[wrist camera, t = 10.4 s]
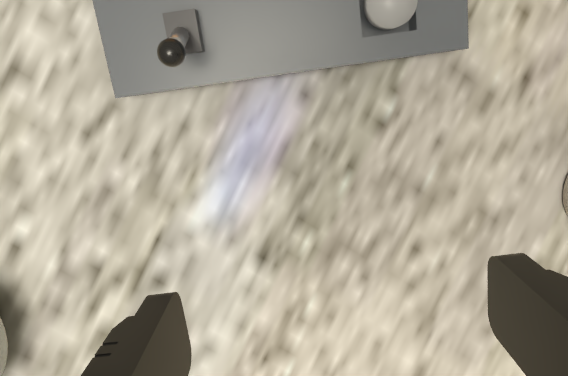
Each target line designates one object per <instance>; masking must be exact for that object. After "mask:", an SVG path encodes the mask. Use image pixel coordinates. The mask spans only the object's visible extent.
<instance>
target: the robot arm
mask: <svg viewBox="0 0 568 376" xmlns="http://www.w3.org/2000/svg"><path fill="white" fill-rule="evenodd" d="M563 205H564V208H565V211H566V214H567V215H568V175H567V178H566V181H565V184H564V189H563ZM488 317H489V322H490V325H491V328H492V331H493V333H494V335H495V336H496V338H497V339H498V340H499V342H500V343H501V344H502V345H503V347H504V348H505V349H506V351H507V352H508V353H509V354H510V356H511V357H512V358H513V359H514V361H515V362H516V363H517V364H518V366H519V367H520V368H521V370H522V371H523V372H524V373H525V375H526V376H568V277H566V276H564V275H561V274H559V273H556V272H554V271H552V270H545V269H544V268H543V267H541V266H540V265H539V264H537V263H536V262H535V261H533V260H532V259H531V258H530V257H528V256H527V255H525V254H524V253H518V254H509V255H501V256H492V257H491V258H490V259H489V261H488ZM190 366H191V345H190V340H189V335H188V330H187V326H186V321H185V316H184V312H183V307H182V302H181V299H180V296H179V294H178V293H177V292H173V293H164V294H155V295H148V296H147V297H146V298H145V300H144V301H143V303H142V305H141V306H140V308H139V309H138V311H137V313H136V314H135V316H130V317H127V318H126V319H124V320H123V321H122V322H121V323H119V324H118V325H117V326H116V327H114V328H113V329H112V330H111V332H110V333H109V335H108V336H107V338H106V339H105V341H104V342H103V346H100V348H99V349H98V351H97V352H96V354H95V358H92V360H91V361H90V363H89V364H88V366H87V367H86V369H85V370H84V372H83V373H82V375H81V376H188V374H189V371H190Z"/></svg>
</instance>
